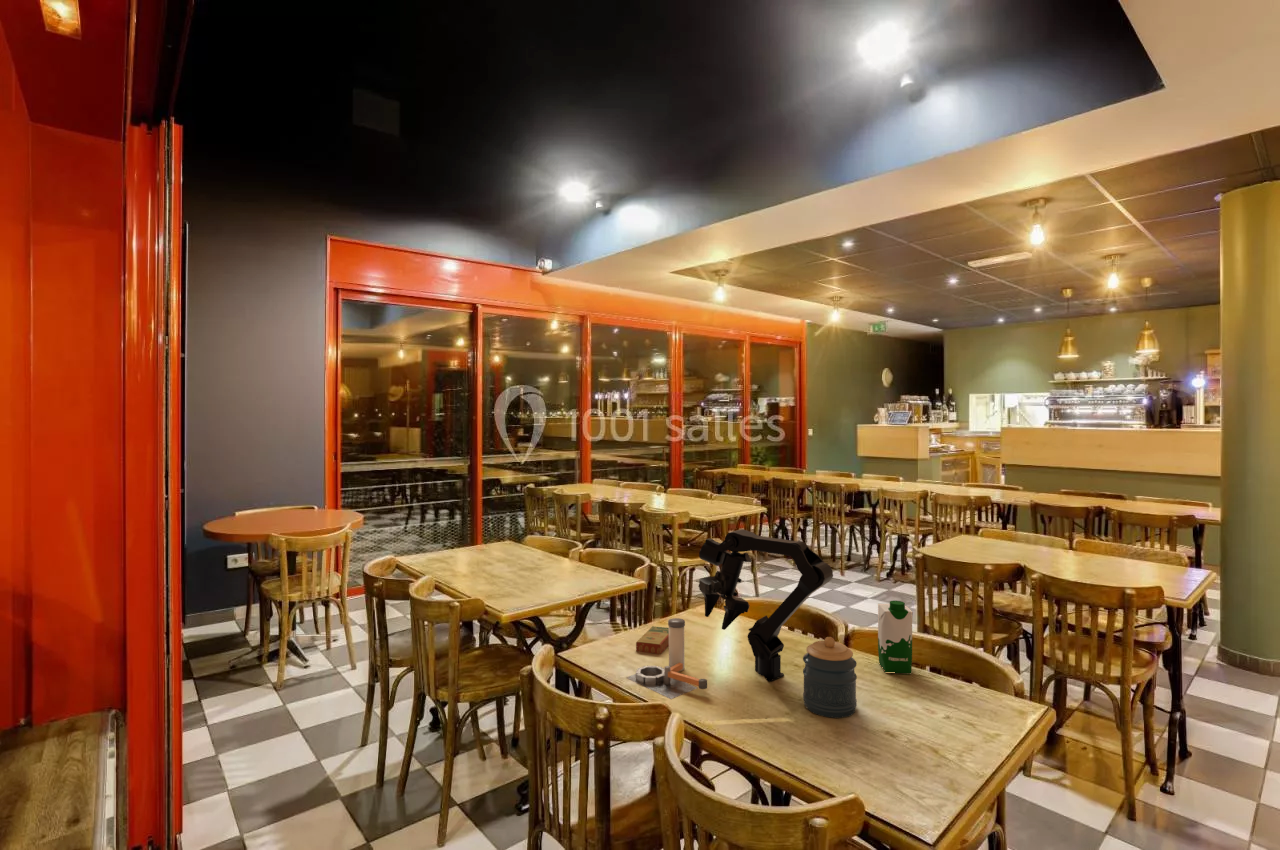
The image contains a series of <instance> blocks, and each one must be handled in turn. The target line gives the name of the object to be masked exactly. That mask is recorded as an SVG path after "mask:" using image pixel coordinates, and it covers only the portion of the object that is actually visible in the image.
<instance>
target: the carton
mask: <svg viewBox="0 0 1280 850" xmlns="http://www.w3.org/2000/svg"><path fill="white" fill-rule="evenodd" d="M667 648H669V627H664V626H663V627H662V626H654V625H652V626H651V627H650V628H649V629H648V630H647V631H646V632H645V633H644V634H643V635H642V636H641V637H640V638H639V639H637V640H636V642H635V651H636V652H640V653H646V654H656V655H661V654H662V653H664V652H665V650H666V649H667Z"/></svg>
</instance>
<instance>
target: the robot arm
mask: <svg viewBox="0 0 1280 850" xmlns="http://www.w3.org/2000/svg"><path fill="white" fill-rule="evenodd" d="M749 551H750V552H753V551H755V552H756V551H757V552H763V553H768V554H776V555H781V556H782V555H783V556H789V557H791V558H792V560H793V561H794V564H795V566H796V569H797V570H798V571H799V573H800V574H801V575H800V578H799V579H798V582H797V585H796V587H795V588H794V589H793V590H792V592H790V594H789V595H788V596H787V597H786V598H785V599H784V601H782V603H780V605H779V606H778V607H777V608H776V609H775V610H774V611H773V613H771V615H770V616H769V617H768V615H764V616H763V617H761V618H759V619H756V621H755V622H754V624H753V626H752V627H750V628H748V631H749V632H748V634H747V636H746V637H747V641H748V644H749V646H750V647H751V650H752V654H753V656H754V671H755V672H757V673H758V675H759V676H761V677H764V679H765V680H766V681H767V682H774V681H775V680H777V679H779V678H782V677H784V676H785V673H783V672H781V668H782V666H781V665H782V663H781V659H782V658H781V656H782V655H781V654H779V653H780V652H783V650H784V647H785V644H784V643H783V642H782V640H781V639H780V637H778V636H779V634H780V632H781V629H782V627H783V626H784V624H785V623H787V621H788V620H789V619H790V618H791V617H792V615H793V614H794V613H795V612H797V610H798V609H799V608H800V607H801V606H802V605H803V604H804V603H805V602H806V600H808V598H809V597H810V596H811V595H812V594H813V593H814V592H816V591H817V590H819V589H821V588H822V587H824V586H825V585H826V584H828V583H830V582H831V580H833V578H834V573H833V569H832V567H831V565H829V564H828V563H827V562H825V561H824V560H823V559H822V557H821V556H820V555H818V554H817V553H816V552H814V551H813V550H812V549H811V548H809V546H808V545H807V544H806V543H805V542H804V541H802V540H790V539H783V538H775V537H768V536H761V535H759V534H756V533H754V532H752V531H749V530H746V529H737V530H734V531H730V532H728V533H727V534H726V535H725V537H724V540H723V541H722V542H718V541H716V540H714V539H712V538H711V537H709V538H706V539H705V542H704V543H703V544H702V546H701V548H700V549H699V552H698V553H699V554H698V556H699V559H700V560H702V561H704V562H707V563H709V564H712V565H714V566H716V567H719V566H720V565H721V567H720V570H717V571H716V572H715V574H714V576H713V575H711V576H707V577H701V578H699V581H698V582H699V583H698V589H699V591H700V592H701V593H702V595H703V596H704V598H703V599H704V617H706V618H708V617H710V615H711V613H712V612H713V610H714V608H715V606H716V604H717V602H718V601H719V599H720V598H722V599H723V600H724V604H725V605H724V604H723V605H722V606H723V609H724V616H723V620H722V625H721V630H727V628H728V627H730V625H731V624H732V623H733V622H734V621H735V620H736V619H737V618H738V617H740V615H741V614H745V613H748V612H749V609H750V604H749V602H748V601H747V600H745V599H744V598H742V597H740V596H738V592H737V591H736V589H737V585H738V583H742V578H740V576H741V571H742V569H743V566H744V563H752V561H753V560H752V559H751V558H750V556H749V553H748V552H749Z"/></svg>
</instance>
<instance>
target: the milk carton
mask: <svg viewBox="0 0 1280 850" xmlns="http://www.w3.org/2000/svg"><path fill="white" fill-rule="evenodd" d="M913 613H914V612H913V611H912V610H911V609H910V608H909V606H906V604H905V602H904V601H901V600H890V601H889V603H877V619H878V620H877V651H878V664H879V663H880V664H879V666H880V665H881V666H882V667H883V669H884V670H885V671H884V670H883V669H882V670H883V671H884V673H885V672H895V673H911V674H912V670H913V669H912V666H913V665H912V664H913ZM881 666H880V667H881ZM882 667H881V668H882Z"/></svg>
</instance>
